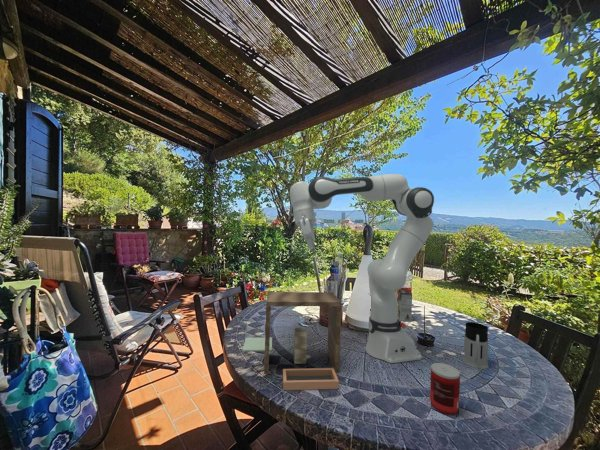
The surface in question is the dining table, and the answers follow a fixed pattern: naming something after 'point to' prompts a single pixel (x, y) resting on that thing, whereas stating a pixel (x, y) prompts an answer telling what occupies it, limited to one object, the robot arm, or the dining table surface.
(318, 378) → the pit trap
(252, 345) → the sage pad
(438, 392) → the canned food
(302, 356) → the ash block
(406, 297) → the coffee box
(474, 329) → the glass holder
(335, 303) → the walnut tunnel
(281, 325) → the dining table surface
